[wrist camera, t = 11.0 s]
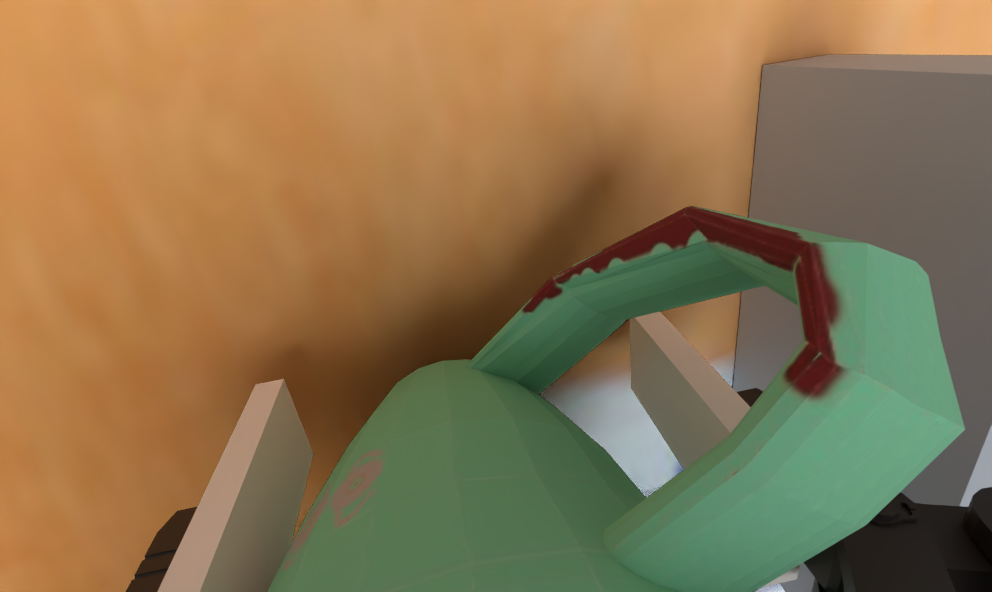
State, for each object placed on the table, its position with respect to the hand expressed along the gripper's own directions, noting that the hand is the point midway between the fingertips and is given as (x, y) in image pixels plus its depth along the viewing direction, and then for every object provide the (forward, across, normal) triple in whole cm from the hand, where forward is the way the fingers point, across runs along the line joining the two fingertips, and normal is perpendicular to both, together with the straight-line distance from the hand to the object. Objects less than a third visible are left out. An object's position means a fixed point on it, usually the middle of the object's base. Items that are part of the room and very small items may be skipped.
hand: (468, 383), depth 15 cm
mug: (+1, +1, 0) cm, 1 cm away
